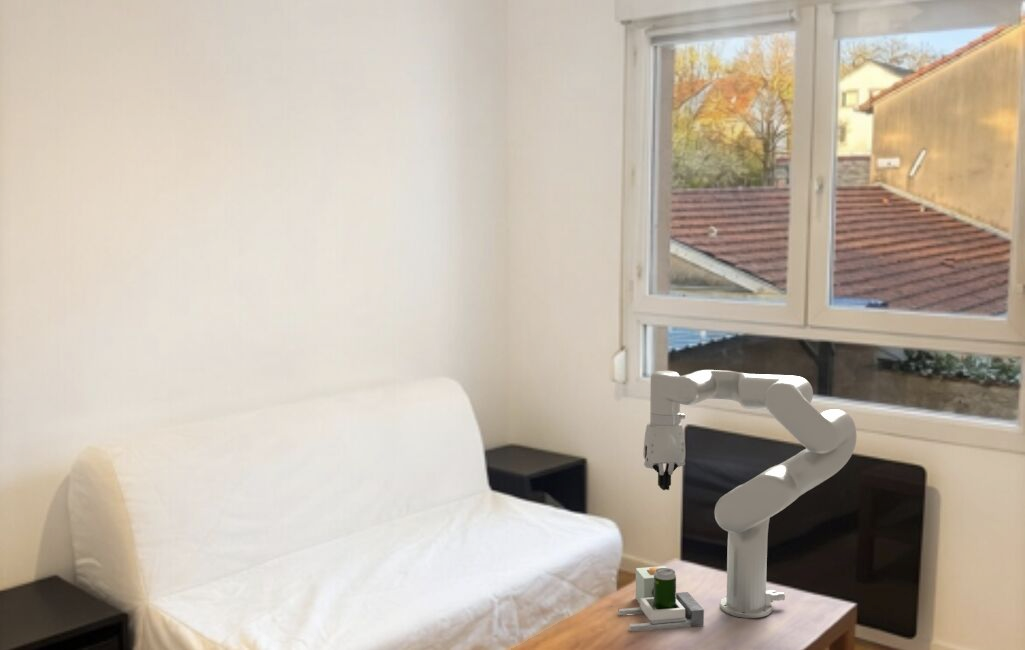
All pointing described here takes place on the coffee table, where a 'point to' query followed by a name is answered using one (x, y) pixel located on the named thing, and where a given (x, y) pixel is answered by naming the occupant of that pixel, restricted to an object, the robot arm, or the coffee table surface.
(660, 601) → the beer can
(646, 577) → the pale green hollow cube
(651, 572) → the button
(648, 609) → the frame
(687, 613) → the rail track
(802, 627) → the coffee table surface
